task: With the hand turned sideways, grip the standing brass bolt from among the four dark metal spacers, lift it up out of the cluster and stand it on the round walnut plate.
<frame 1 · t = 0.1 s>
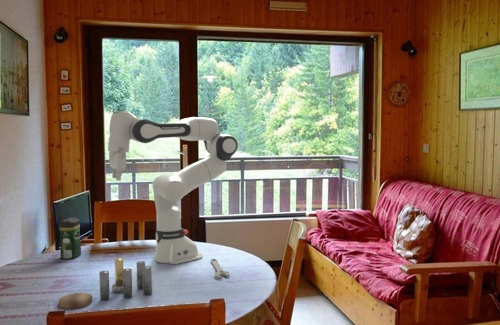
hand: (116, 179, 191), 39 cm above the table, tool pointing down, fingers open, 8 cm apart
adjustable wrench: (219, 270, 189), on the table
walnut plate: (75, 302, 153), on the table
coffee jar: (70, 257, 208), on the table
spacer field: (119, 290, 165), on the table
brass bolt: (119, 290, 165), on the table
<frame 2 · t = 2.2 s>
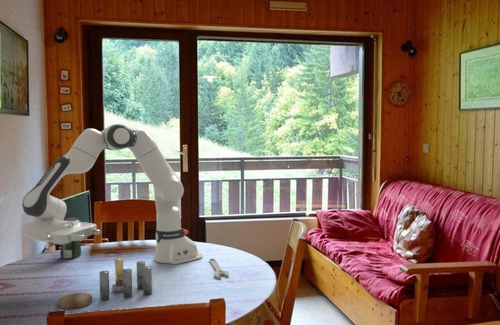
hand: (91, 235, 167), 20 cm above the table, tool horizontal, fingers open, 8 cm apart
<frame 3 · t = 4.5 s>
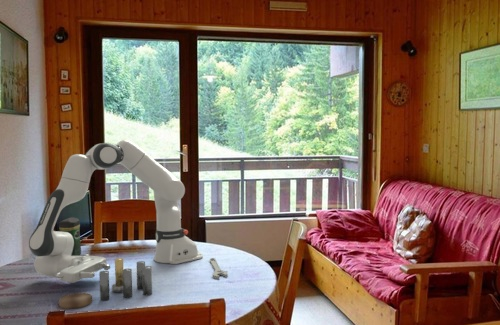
hand: (101, 271, 167), 7 cm above the table, tool horizontal, fingers open, 8 cm apart
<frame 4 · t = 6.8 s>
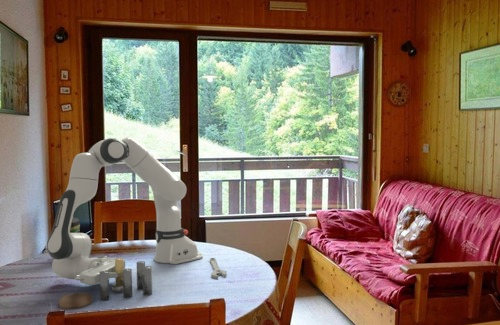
hand: (121, 273, 164), 7 cm above the table, tool horizontal, fingers closed on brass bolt, 3 cm apart
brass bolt: (119, 290, 165), on the table, touching gripper
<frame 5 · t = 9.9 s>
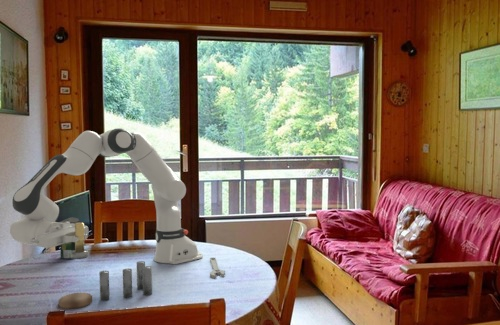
hand: (81, 237, 153), 23 cm above the table, tool horizontal, fingers closed on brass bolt, 3 cm apart
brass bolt: (79, 256, 154), point 16 cm above the table, touching gripper
when the fingers open (9 cm above the table, at t = 12.8 s): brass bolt stays where it is, resting on walnut plate.
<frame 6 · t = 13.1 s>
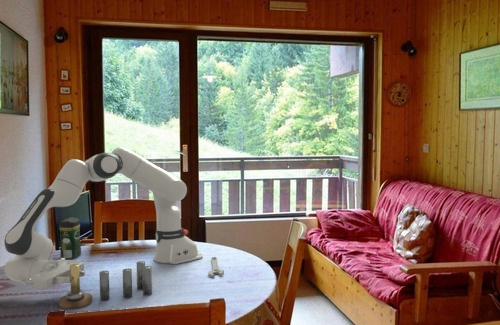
hand: (77, 277, 152), 9 cm above the table, tool horizontal, fingers open, 5 cm apart
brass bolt: (75, 298, 153), point 1 cm above the table, touching walnut plate
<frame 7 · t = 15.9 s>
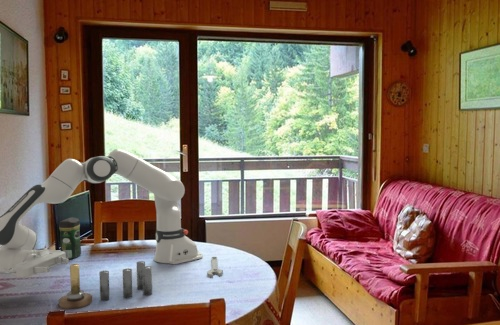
hand: (58, 265, 158), 12 cm above the table, tool horizontal, fingers open, 8 cm apart
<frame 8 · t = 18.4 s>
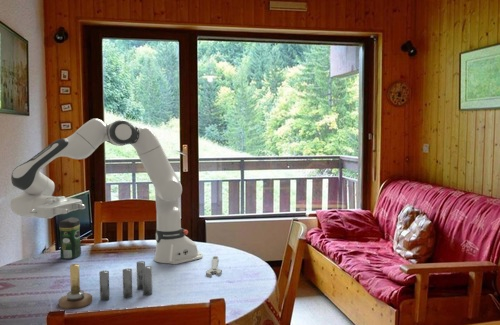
hand: (75, 209, 169), 30 cm above the table, tool horizontal, fingers open, 8 cm apart
at the end: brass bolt inside the target area on the walnut plate (0.1 cm from its centre), point 1.5 cm above the walnut plate's base; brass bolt tilted 0°; the gripper is holding nothing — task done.
